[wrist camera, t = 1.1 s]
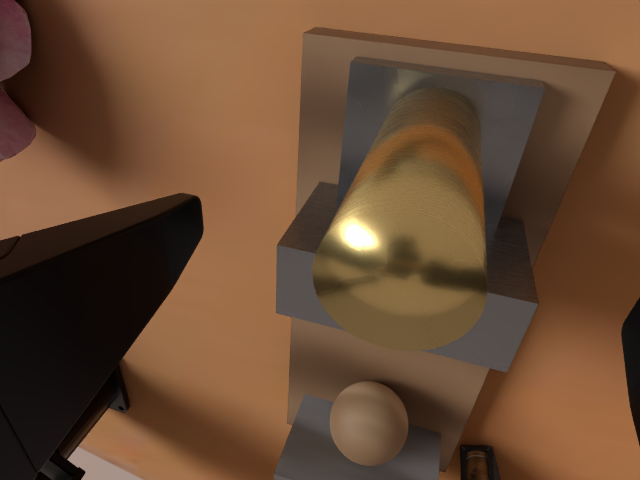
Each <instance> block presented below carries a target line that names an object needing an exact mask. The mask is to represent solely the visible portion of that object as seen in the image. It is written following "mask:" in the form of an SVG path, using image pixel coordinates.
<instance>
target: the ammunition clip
mask: <svg viewBox="0 0 640 480" xmlns="http://www.w3.org/2000/svg"><path fill="white" fill-rule="evenodd" d="M460 459H461V480H501V479H500V475H499V471H498V467H497V463H496V459H495V455H494V451H493V447H486V446H460Z"/></svg>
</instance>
